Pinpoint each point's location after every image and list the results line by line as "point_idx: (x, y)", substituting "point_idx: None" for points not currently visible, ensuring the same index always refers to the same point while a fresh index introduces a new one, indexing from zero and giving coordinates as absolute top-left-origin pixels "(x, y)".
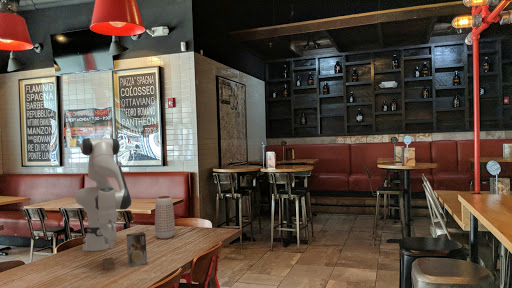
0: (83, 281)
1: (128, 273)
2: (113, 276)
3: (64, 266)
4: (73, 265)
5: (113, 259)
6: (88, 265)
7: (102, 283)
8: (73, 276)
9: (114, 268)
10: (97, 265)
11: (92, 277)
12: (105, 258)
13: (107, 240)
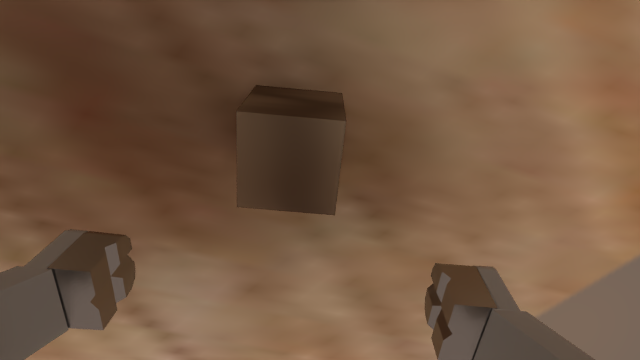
0: None
1: (605, 42)
2: (548, 171)
3: None
4: None
5: (344, 129)
6: (90, 229)
7: (613, 270)
8: (301, 350)
9: (341, 93)
10: (135, 178)
11: (425, 281)
12: (242, 186)
13: (68, 286)
